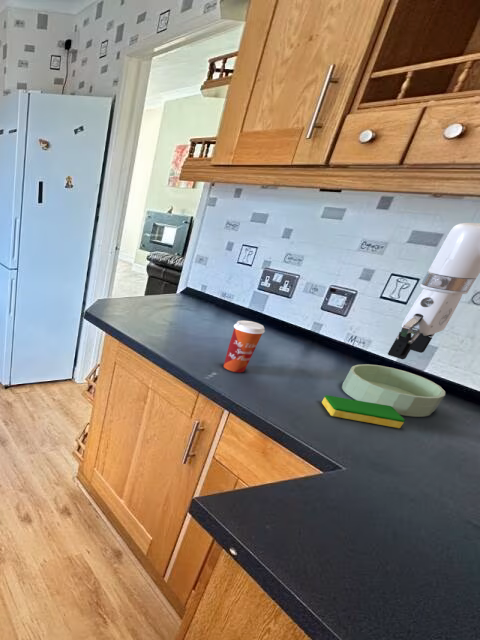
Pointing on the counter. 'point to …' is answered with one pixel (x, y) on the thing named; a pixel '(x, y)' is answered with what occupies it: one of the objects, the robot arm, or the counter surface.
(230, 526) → the counter surface
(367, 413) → the dish sponge
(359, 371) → the bowl
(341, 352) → the counter surface
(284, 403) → the counter surface
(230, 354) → the paper cup
